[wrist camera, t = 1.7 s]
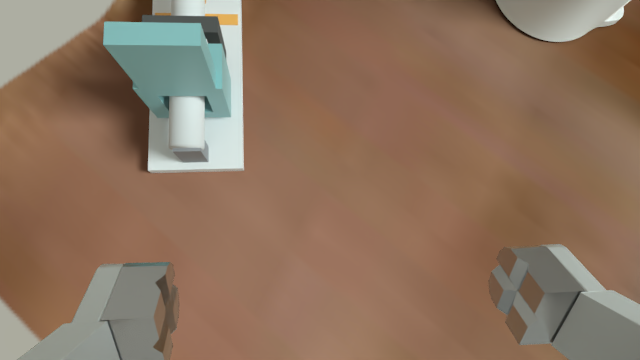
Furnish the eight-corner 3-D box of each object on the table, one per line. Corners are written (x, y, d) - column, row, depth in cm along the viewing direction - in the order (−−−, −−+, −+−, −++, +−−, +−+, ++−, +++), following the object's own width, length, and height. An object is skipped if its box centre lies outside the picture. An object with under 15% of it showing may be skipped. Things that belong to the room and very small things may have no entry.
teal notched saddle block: (158, 79, 40) (97, -13, 26) (230, 79, 41) (208, -10, 27) (157, 118, 39) (94, 44, 26) (231, 117, 40) (208, 45, 27)
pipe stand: (157, -43, 45) (135, -97, 38) (240, -40, 46) (234, -92, 39) (151, 173, 40) (125, 155, 33) (243, 170, 41) (237, 153, 34)
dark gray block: (162, 51, 40) (142, 15, 34) (226, 51, 41) (217, 16, 35) (161, 65, 40) (141, 31, 34) (226, 65, 41) (217, 32, 35)
